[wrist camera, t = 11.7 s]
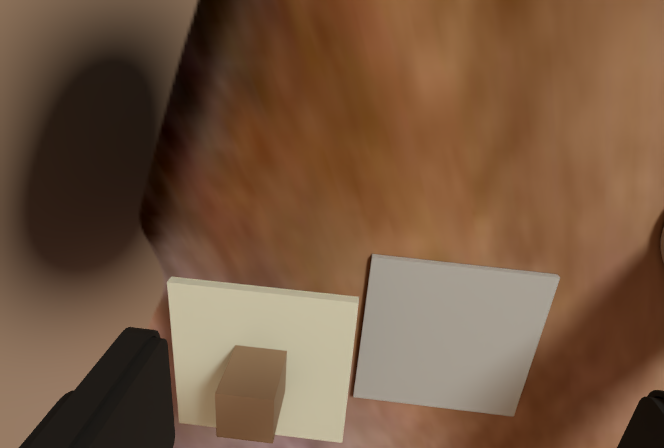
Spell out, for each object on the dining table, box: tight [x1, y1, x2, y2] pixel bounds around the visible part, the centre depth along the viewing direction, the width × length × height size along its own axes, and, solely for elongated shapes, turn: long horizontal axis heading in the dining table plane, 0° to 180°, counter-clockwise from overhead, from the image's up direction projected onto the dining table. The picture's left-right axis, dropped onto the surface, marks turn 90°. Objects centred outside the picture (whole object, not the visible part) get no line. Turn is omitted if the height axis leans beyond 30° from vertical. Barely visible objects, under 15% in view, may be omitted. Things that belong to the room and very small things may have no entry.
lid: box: [167, 277, 359, 443], centre depth 33 cm, size 14×14×6 cm
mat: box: [353, 254, 560, 417], centre depth 42 cm, size 16×16×1 cm
